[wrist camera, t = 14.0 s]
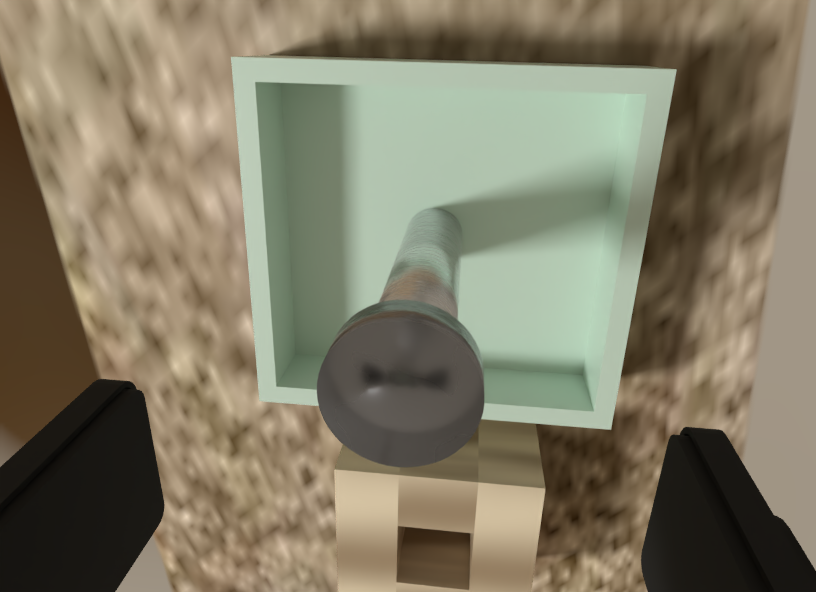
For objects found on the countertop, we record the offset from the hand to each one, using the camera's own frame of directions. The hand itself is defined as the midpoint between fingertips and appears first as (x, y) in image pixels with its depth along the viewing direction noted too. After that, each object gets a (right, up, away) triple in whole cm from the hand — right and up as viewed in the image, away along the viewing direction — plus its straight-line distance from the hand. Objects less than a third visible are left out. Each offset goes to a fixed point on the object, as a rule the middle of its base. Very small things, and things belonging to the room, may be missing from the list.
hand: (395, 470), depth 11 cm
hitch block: (+2, -7, +21) cm, 23 cm away
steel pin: (+1, +6, +15) cm, 16 cm away
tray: (+2, +6, +16) cm, 17 cm away
